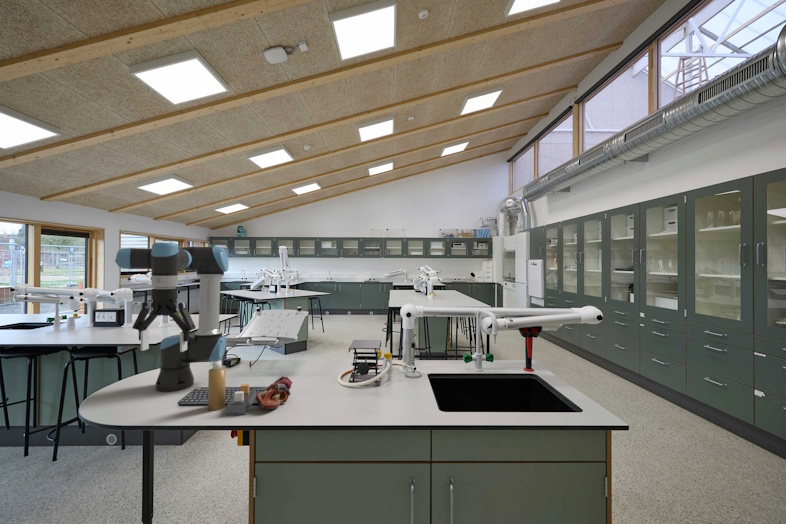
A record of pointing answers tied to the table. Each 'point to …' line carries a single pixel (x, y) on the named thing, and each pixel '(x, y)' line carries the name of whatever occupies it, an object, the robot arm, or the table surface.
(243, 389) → the paddle
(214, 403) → the amber pump bottle
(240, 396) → the paddle
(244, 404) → the breaker strip
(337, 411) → the table surface
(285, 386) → the anatomical model
